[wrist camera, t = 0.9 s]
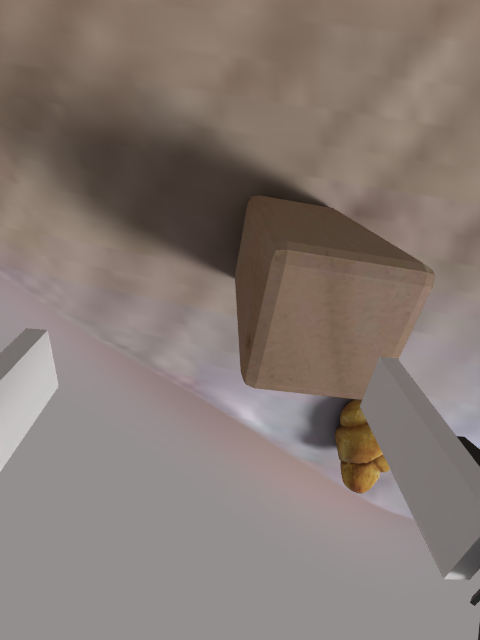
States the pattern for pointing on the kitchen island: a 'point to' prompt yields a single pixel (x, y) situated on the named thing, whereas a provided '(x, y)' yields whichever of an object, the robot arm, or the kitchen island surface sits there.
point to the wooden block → (320, 299)
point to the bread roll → (358, 450)
